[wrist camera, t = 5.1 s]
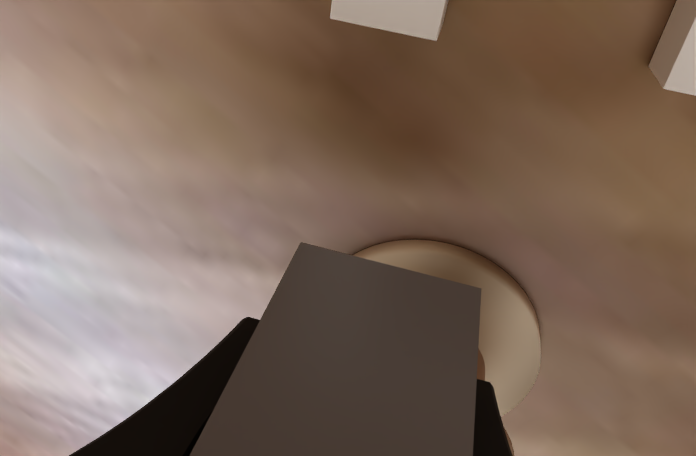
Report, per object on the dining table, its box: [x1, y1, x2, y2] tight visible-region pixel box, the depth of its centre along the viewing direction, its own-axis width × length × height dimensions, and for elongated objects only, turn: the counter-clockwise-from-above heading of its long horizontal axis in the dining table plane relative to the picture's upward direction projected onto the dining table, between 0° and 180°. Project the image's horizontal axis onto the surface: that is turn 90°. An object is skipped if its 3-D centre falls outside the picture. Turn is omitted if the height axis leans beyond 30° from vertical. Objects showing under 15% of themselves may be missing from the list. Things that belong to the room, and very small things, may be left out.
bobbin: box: [353, 239, 541, 456], centre depth 22 cm, size 9×9×6 cm
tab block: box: [190, 242, 481, 456], centre depth 12 cm, size 4×4×6 cm
